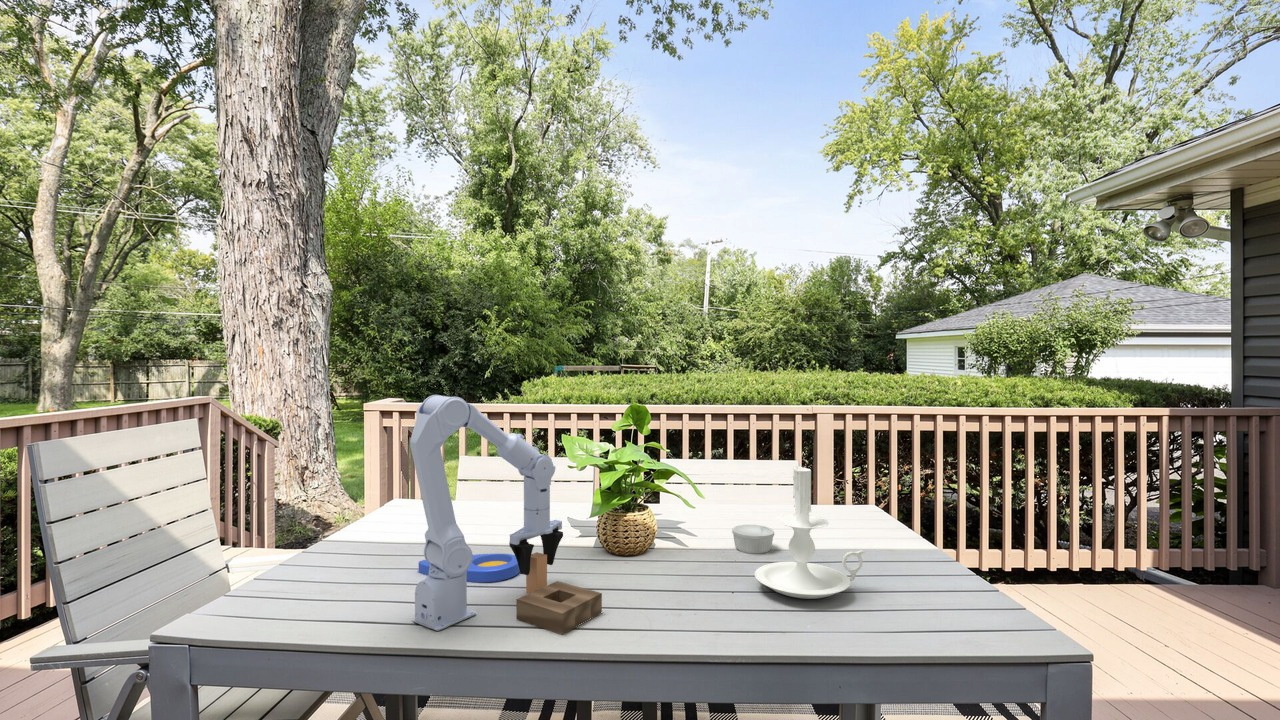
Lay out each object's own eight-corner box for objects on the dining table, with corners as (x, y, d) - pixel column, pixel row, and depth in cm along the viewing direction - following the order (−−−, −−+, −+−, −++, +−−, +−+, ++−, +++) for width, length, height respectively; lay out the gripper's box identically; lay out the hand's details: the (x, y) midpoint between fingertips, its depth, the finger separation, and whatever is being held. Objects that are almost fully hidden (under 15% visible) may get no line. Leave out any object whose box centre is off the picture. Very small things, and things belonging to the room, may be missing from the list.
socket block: (562, 634, 114) (562, 613, 114) (516, 619, 121) (516, 599, 121) (601, 612, 124) (601, 593, 124) (557, 599, 131) (557, 581, 131)
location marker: (406, 583, 142) (511, 584, 140) (406, 568, 142) (510, 569, 140) (431, 564, 155) (527, 565, 153) (430, 551, 155) (526, 551, 153)
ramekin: (782, 552, 163) (782, 533, 163) (746, 557, 159) (746, 537, 159) (759, 541, 174) (759, 522, 174) (724, 545, 170) (724, 526, 170)
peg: (536, 595, 133) (536, 558, 133) (526, 592, 135) (526, 555, 135) (546, 590, 136) (547, 554, 136) (536, 587, 138) (536, 552, 138)
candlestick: (886, 607, 127) (887, 472, 127) (770, 611, 125) (771, 474, 125) (844, 573, 148) (844, 457, 148) (744, 576, 145) (744, 458, 145)
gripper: (526, 517, 127) (526, 582, 127) (572, 503, 139) (572, 563, 139) (502, 512, 131) (502, 575, 131) (549, 499, 143) (549, 557, 143)
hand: (536, 568), depth 135 cm, fingers open, 7 cm apart
